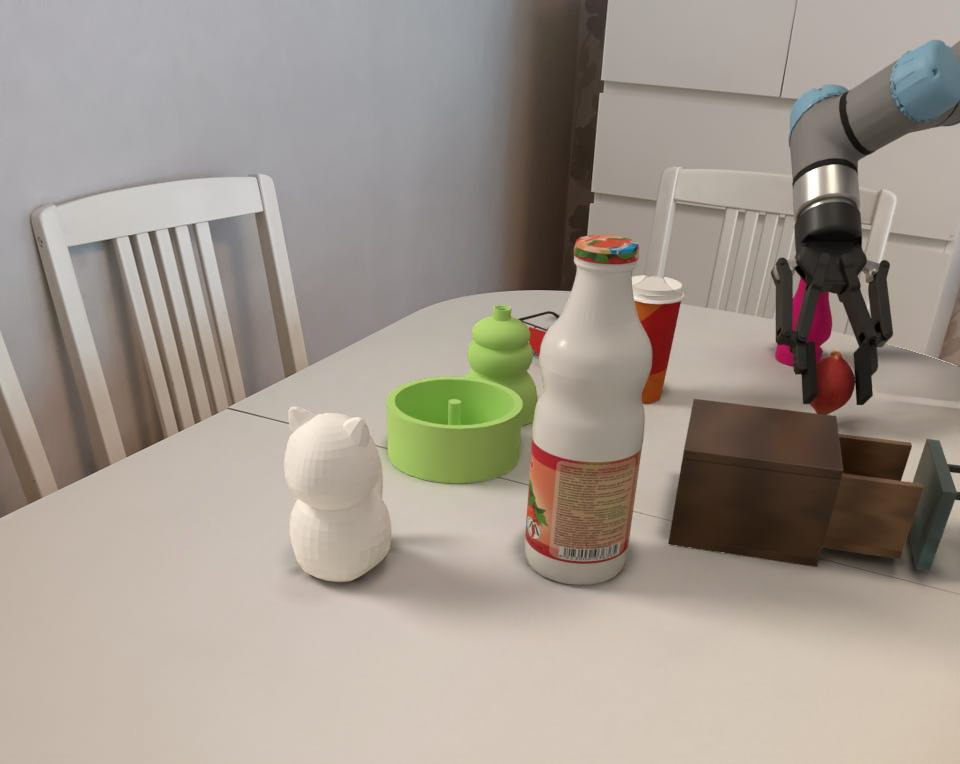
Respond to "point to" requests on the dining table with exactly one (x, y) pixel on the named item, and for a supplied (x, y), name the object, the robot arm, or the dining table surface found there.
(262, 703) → the dining table surface
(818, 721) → the dining table surface
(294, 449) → the cat figurine
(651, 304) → the paper cup
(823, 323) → the pepper mill
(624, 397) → the fruit juice
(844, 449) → the wooden drawer
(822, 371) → the onion
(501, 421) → the green round pieces
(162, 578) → the dining table surface
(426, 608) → the dining table surface
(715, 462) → the drawer cabinet
